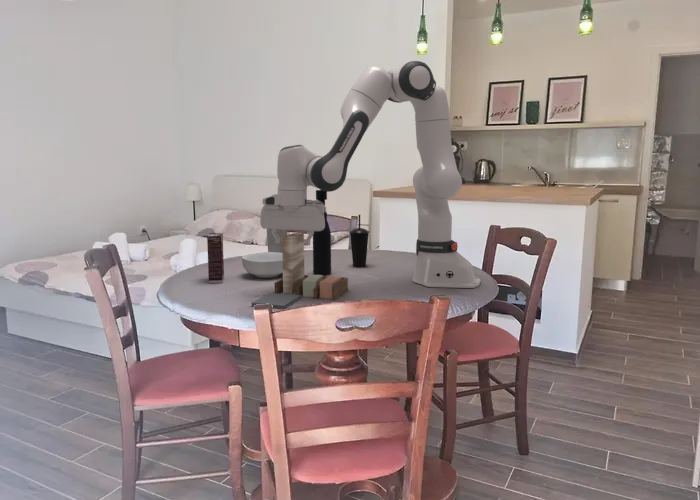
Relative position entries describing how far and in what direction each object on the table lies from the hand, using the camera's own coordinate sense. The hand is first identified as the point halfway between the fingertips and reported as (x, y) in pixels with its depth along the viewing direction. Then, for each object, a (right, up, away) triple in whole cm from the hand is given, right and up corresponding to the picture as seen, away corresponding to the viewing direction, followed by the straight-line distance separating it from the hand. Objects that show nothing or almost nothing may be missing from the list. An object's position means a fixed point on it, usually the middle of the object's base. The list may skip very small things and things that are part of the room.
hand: (292, 244), depth 166 cm
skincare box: (-12, -6, +54) cm, 55 cm away
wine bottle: (+8, -11, +28) cm, 31 cm away
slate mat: (-4, -17, -10) cm, 20 cm away
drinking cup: (+21, -8, +42) cm, 47 cm away
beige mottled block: (0, -15, +3) cm, 15 cm away
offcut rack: (+6, -15, +1) cm, 16 cm away
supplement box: (-28, -12, +18) cm, 36 cm away
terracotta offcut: (+12, -16, -1) cm, 20 cm away
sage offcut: (+6, -15, +1) cm, 16 cm away
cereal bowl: (-12, -11, +26) cm, 31 cm away
